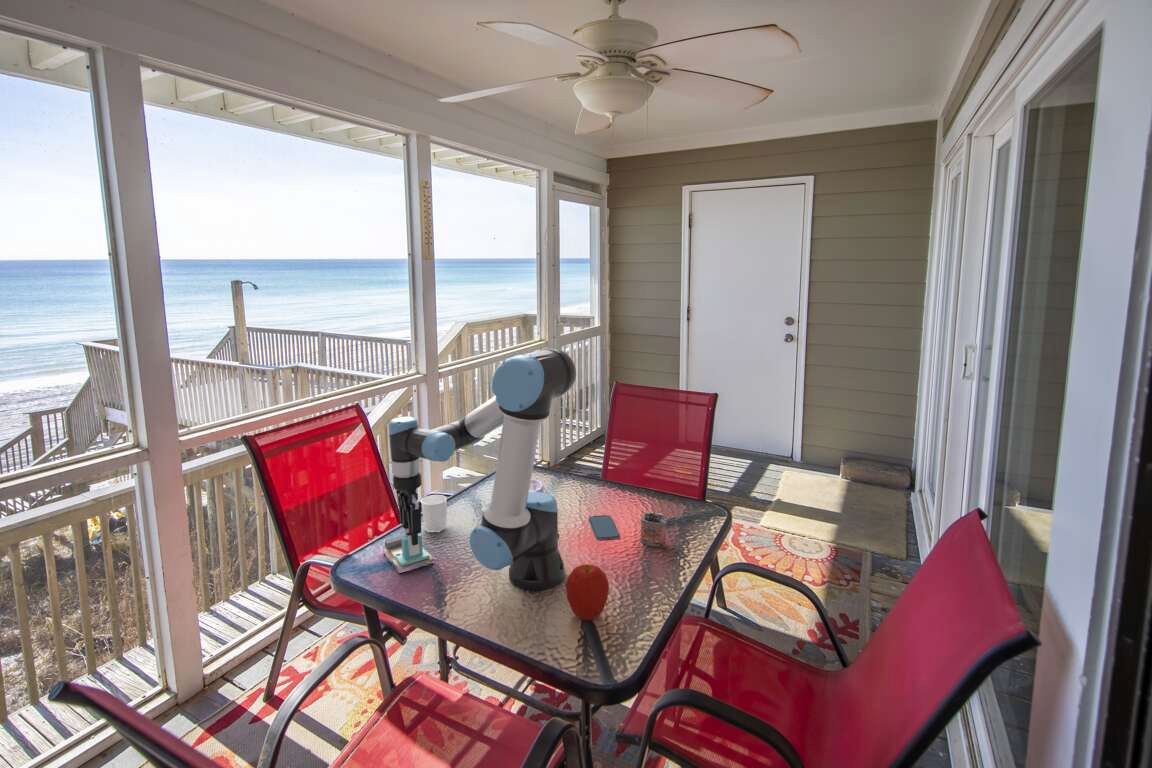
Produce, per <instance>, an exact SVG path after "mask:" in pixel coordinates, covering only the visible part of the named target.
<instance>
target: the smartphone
mask: <svg viewBox="0 0 1152 768" xmlns="http://www.w3.org/2000/svg"><path fill="white" fill-rule="evenodd" d="M588 522H589V524H590V527H591V530H592V533H593V532H594V533H593V534H594V535H593V536H594V537H596V538H595V539H596V541H603V540H604V539H607V540H614V539H613V538H618V539H619V538H620V534H619V531H618V529H617V527H616V524H615V523H614V520H613V518H612V516H611V515H609V514H602V515H591V516H589V517H588ZM602 539H603V540H602Z"/></svg>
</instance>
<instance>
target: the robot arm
mask: <svg viewBox="0 0 1152 768" xmlns="http://www.w3.org/2000/svg"><path fill="white" fill-rule="evenodd" d="M576 377H577V368H576V364H575V363H574V360H573V359H572V358H571V356H570V355H568V353H566V352H565V351H563V350H560V349H557V348H544V349H541V350H537V351H532V352H528V353H519V354H516V355H514V356H512V357H509V358H506V359H505V360H504V361H501V363H500V364H499V365H498V366H497V367H496V368H495V371H494V373H493V376H492V380H491V390H492V394H493V395H494V396H493V397H492V398H490V399H487V401H485V402H484V403H482V404H481V405H479V406H478V407H477V408H475V409H473V410H472V411H471V412H469V413H468V414H466V415H465V416H463V417H461V419H459V420H456V421H453V422H451V423H448V424H444V425H441V426H439V427H436V428H432V429H425V428H421V427H419V423H418V419H417V418H415V417H414V416H399V417H394V418H392V419H391V420H390V421H389V423H388V438H389V448H390V463H391V474H392V484H393V485H392V486H393V489H395V490H396V491H395V493H396V496H397V503H398V513H399V514H398V515H399V520H400V521H399V523H400V524H401V525H402V528H403V536H406V535H407V536H408V543H409V555H410V556H413V555H416V554H419V553H420V551H419V536H418V534H419V533H420V534H422V503H421V501H418V499H419V497H418V496H419V495H418V493H417V489H419V488H420V487H421V486H422V481H423V480H422V472H421V462H422V459H424V460H425V459H426V460H428V461H430V462H432V461H433V462H439V463H440V462H443V463H444V462H447V461H449V460H450V459H451V457H452V456H453V455H454V453H455V451H459V450H461V449H464V448H467V447H468V446H472V445H475V444H477V443H479V442H481V441H483V440H484V438H485V437H486V435H488V434H490V433H491V432H493V431H494V430H497V429H498V428H500V427H501V426H502V429H501V435H500V441H499V447H498V453H497V461H496V467H495V468H496V469H495V474H494V478H493V479H494V480H493V486H492V492H491V499H490V502H489V503H488V504H486V505H485V507H483V510H482V515H481V516H482V517H481V523H480V524H479V525H477V526H475V527H474V528H473V529H472V531H471V533H469V547H470V549H471V552H472V554H473V555H474V557H475V558H476V560H477V561H478V562H479V563H480V564H481V565H482V566H484V567H485V568H487V569H489V570H493V571H499V570H503V569H505V568H506V567H508V566H509V568H508V579H509V581H510V583H512V585H514V586H515V587H517V588H520V589H523V590H528V591H542V590H547V589H551V588H553V587H556V586H557V585H559V584H560V583H562V582H563V580H565V576H566V572H565V571H566V566H565V563H564V560H563V558H562V555H561V552H560V550H559V542H558V541H559V535H558V534H559V532H558V531H559V529H558V525H559V524H558V522H559V521H558V519H559V518H558V517H559V516H558V512H559V510H558V503H557V499H556V498H555V497H554V496H553V495H551V494H549V493H545V492H544V493H541V492H529V488H530V482H531V479H532V475H533V470H534V465H535V459H536V453H537V447H538V442H539V437H540V431H541V424H542V422H544V421H545V420H546V419H548V418H549V416H550V412H551V406H552V401H553V399H555V398H558V397H561V396H563V395H565V394H566V393H568V392H569V391H570V390H571V389H572V387H573V386H574V384H575V382H576Z"/></svg>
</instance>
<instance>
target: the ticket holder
mask: <svg viewBox="0 0 1152 768" xmlns="http://www.w3.org/2000/svg"><path fill="white" fill-rule="evenodd" d="M403 536H404V535H402V536H398V537H397V536H396V537H394V538H391V539H387V540H384V548H385V549H384V548H383V550H382V552H383V551H384V552H385V553H386V554H387V555H388V556H389V558H390V559H391V560H392V561H393V562H394V564H395V565H396V566H397V567H398V569H399V570H401V569H404V568H408V567H411V566H415V565H419V564H423V563H427V562H432V561H434V562H435V558H434V557H433V556H432V555H431V554H430V553H429V552H428V550H426V549H425V547H423V546H422V549H424V550H425V551H426V552H427V553H428V554H429V555H430V558H427V559H424V560H421V561H418V562H414V563H411V564H408V565H405V566H401V564H400V563H399V562H398V561H397V560H396V556H399V555H402V543H401V537H403Z"/></svg>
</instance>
